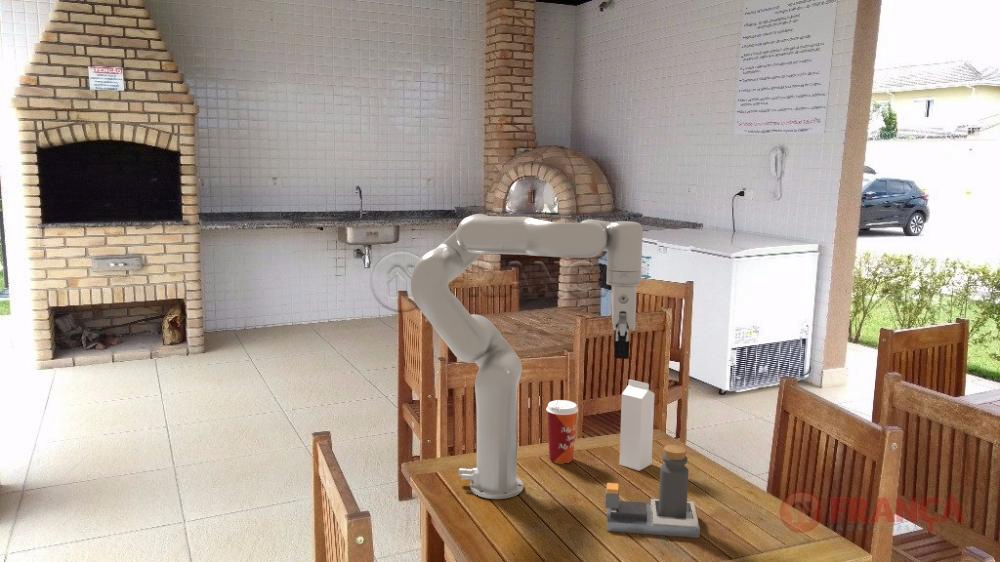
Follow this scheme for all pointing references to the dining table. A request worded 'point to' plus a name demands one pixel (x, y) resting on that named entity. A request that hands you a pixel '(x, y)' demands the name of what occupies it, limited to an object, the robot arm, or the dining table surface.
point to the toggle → (612, 496)
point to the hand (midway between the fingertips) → (621, 352)
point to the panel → (651, 520)
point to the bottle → (673, 483)
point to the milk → (636, 425)
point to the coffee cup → (561, 430)
